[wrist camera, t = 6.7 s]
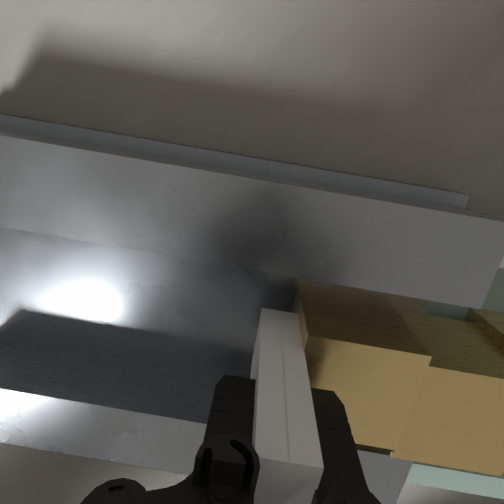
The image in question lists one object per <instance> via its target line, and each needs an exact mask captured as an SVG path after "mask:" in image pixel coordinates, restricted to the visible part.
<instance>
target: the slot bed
mask: <svg viewBox="0 0 504 504" xmlns="http://www.w3.org/2000/svg"><path fill="white" fill-rule="evenodd" d="M469 198H470V195H466V194H462V193H458V192H454V191H448V190H442V189H436V188H431V187H425V186H419V185H413V184H407V183H401V182H396V181H390V180H384V179H378V178H372V177H367V176H361V175H355V174H349V173H343V172H338V171H332V170H326V169H320V168H314V167H308V166H303V165H297V164H291V163H285V162H279V161H274V160H268V159H262V158H256V157H250V156H244V155H239V154H233V153H227V152H221V151H215V150H210V149H204V148H198V147H192V146H186V145H181V144H175V143H169V142H163V141H157V140H151V139H146V138H140V137H134V136H128V135H122V134H117V133H111V132H105V131H99V130H93V129H88V128H82V127H76V126H70V125H64V124H58V123H53V122H47V121H41V120H35V119H29V118H24V117H18V116H12V115H6V114H0V443H6V444H12V445H18V446H24V447H29V448H35V449H41V450H47V451H53V452H58V453H64V454H70V455H76V456H82V457H87V458H93V459H99V460H105V461H111V462H117V463H122V464H128V465H134V466H140V467H146V468H151V469H157V470H163V471H169V472H175V473H180V474H186V475H190V474H191V473H192V472H193V470H194V462H195V456H196V454H197V452H198V450H199V447H200V445H202V444H203V440H204V435H205V431H206V426H207V422H208V417H209V413H210V409H211V404H212V400H213V395H214V391H215V386H216V384H217V383H218V382H219V381H220V379H221V378H222V377H223V376H224V375H225V374H226V375H232V376H238V377H244V378H250V375H251V363H252V358H253V353H254V347H255V342H256V336H257V331H258V326H259V320H260V315H261V310H262V308H267V309H273V310H279V311H285V312H291V313H292V308H293V304H294V299H295V295H296V290H297V286H298V285H303V286H309V287H314V288H320V289H326V290H332V291H338V292H344V293H350V294H355V295H361V296H367V297H373V298H379V299H385V300H388V301H389V302H390V303H391V304H392V306H393V307H394V308H395V309H399V310H405V311H411V312H417V313H423V314H426V311H427V309H428V306H429V304H430V301H436V302H441V303H447V304H453V305H459V306H465V307H470V308H476V309H481V307H482V305H483V302H484V300H485V298H486V296H487V293H488V291H489V289H490V286H491V284H492V282H493V279H494V277H495V275H496V273H497V270H498V268H499V266H500V263H501V261H502V259H503V257H504V220H502V219H499V218H496V217H493V216H489V215H486V214H483V213H480V212H476V211H473V210H470V209H467V208H466V206H467V203H468V200H469ZM355 445H356V449H357V452H358V456H359V459H360V463H361V466H362V470H363V473H364V477H365V480H366V483H367V486H368V489H369V491H370V492H371V493H373V494H374V496H375V497H376V498H377V499H378V500H379V502H380V503H381V504H396V501H397V499H398V497H399V494H400V492H401V490H402V488H403V485H404V483H405V481H406V478H407V476H408V474H409V472H410V469H411V467H412V465H413V462H414V461H410V460H404V459H398V458H392V457H391V455H390V452H389V450H388V449H385V448H379V447H373V446H368V445H362V444H356V443H355Z"/></svg>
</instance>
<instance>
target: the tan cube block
mask: <svg viewBox="0 0 504 504" xmlns="http://www.w3.org/2000/svg"><path fill="white" fill-rule="evenodd" d="M464 321H470V322H475V323H477V324H478V325H479V326H480V327H481V328H483V329H484V330H485V331H486V332H487V333H488V334H490V335H491V336H492V337H493V338H494V339H495V340H497V341H498V342H499V343H500V344H501V345H502V346H504V313H502V312H496V311H490V310H484V309H476V308H470V307H469V310H468V312H467V314H466V317H465V319H464Z"/></svg>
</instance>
